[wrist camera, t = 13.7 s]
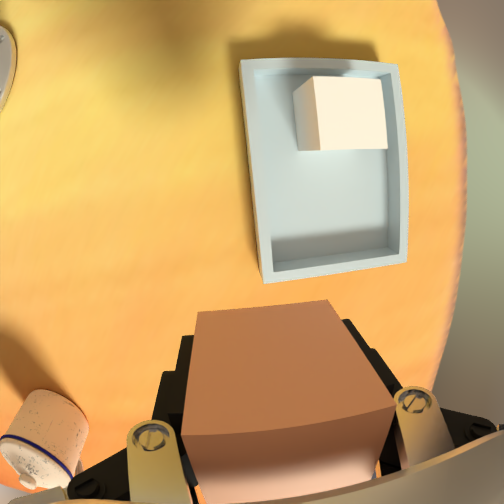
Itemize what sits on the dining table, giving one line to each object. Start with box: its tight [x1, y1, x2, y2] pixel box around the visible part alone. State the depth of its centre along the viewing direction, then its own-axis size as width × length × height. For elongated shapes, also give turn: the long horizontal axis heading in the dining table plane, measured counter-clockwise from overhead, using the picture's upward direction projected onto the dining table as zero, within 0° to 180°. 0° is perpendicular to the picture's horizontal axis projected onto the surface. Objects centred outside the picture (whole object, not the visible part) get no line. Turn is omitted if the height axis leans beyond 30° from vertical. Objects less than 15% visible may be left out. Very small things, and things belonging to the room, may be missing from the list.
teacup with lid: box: [0, 389, 89, 489], centre depth 24 cm, size 12×9×12 cm
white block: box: [292, 76, 388, 151], centre depth 19 cm, size 4×4×6 cm
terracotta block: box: [181, 300, 397, 504], centre depth 9 cm, size 4×4×6 cm
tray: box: [238, 58, 409, 284], centre depth 22 cm, size 16×12×3 cm
